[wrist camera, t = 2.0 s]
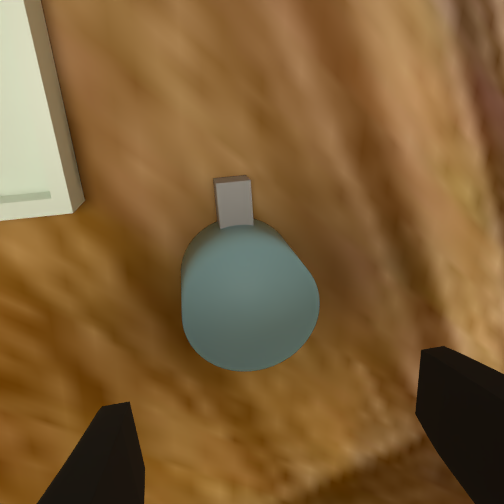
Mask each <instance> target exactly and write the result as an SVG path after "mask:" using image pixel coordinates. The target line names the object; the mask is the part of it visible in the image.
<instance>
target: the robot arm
mask: <svg viewBox="0 0 504 504" xmlns="http://www.w3.org/2000/svg"><path fill="white" fill-rule="evenodd" d="M415 414H416V416H417V418H418V420H419V421H420V423H421V425H422V427H423V429H424V430H425V432H426V434H427V436H428V437H429V439H430V441H431V443H432V444H433V446H434V448H435V449H436V451H437V453H438V454H439V455H440V457H441V458H442V460H443V461H444V462H445V464H446V465H447V466H448V468H449V469H450V471H451V472H452V473H453V475H454V476H455V477H456V479H457V480H458V481H459V483H460V484H461V486H462V487H463V488H464V490H465V491H466V492H467V494H468V495H469V496H470V498H471V499H472V500H473V502H474V503H475V504H504V374H502V373H500V372H498V371H496V370H494V369H492V368H490V367H488V366H486V365H484V364H482V363H480V362H478V361H476V360H474V359H471V358H469V357H467V356H465V355H463V354H461V353H459V352H456V351H454V350H452V349H449V348H447V347H445V346H441V347H435V348H430V349H424V350H421V359H420V369H419V380H418V391H417V402H416V412H415ZM144 489H145V466H144V462H143V457H142V453H141V449H140V444H139V440H138V436H137V432H136V427H135V423H134V419H133V414H132V410H131V406H130V402H125V403H119V404H113V405H108V406H102V407H101V408H100V410H99V411H98V412H97V414H96V415H95V417H94V419H93V420H92V422H91V423H90V425H89V427H88V428H87V430H86V431H85V433H84V435H83V436H82V438H81V439H80V441H79V442H78V444H77V445H76V447H75V448H74V450H73V452H72V453H71V455H70V456H69V458H68V459H67V461H66V462H65V464H64V465H63V467H62V468H61V469H60V471H59V472H58V474H57V475H56V477H55V478H54V480H53V481H52V483H51V484H50V486H49V487H48V488H47V490H46V491H45V493H44V494H43V496H42V497H41V498H40V500H39V501H38V503H37V504H144Z"/></svg>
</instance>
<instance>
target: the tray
mask: <svg viewBox="0 0 504 504" xmlns="http://www.w3.org/2000/svg"><path fill="white" fill-rule="evenodd" d="M84 201H85V199H84V194H83V190H82V185H81V181H80V176H79V172H78V167H77V163H76V158H75V154H74V149H73V145H72V140H71V135H70V131H69V126H68V122H67V117H66V113H65V108H64V104H63V99H62V95H61V90H60V86H59V81H58V76H57V72H56V67H55V63H54V58H53V54H52V49H51V45H50V40H49V36H48V31H47V27H46V22H45V17H44V13H43V8H42V4H41V0H0V221H2V220H12V219H21V218H31V217H41V216H50V215H60V214H70V213H74V212H75V211H76V210H77V208H78V207H79V206H80V205H81V204H82V203H83V202H84Z"/></svg>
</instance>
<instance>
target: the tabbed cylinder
mask: <svg viewBox="0 0 504 504" xmlns="http://www.w3.org/2000/svg"><path fill="white" fill-rule="evenodd" d="M213 181H214V191H215V201H216V211H217V222H215V223H213V224H211V225H209V226H208V227H206V228H204V229H203V230H202V231H201V232H199V233H198V234H197V235H196V236H195V237H194V239H193V240H192V241H191V243H190V244H189V246H188V247H187V249H186V251H185V254H184V257H183V260H182V265H181V297H182V323H183V328H184V332H185V334H186V337H187V339H188V341H189V342H190V344H191V346H192V347H193V348H194V350H195V351H196V352H197V353H198V354H199V355H200V356H201V357H203V358H204V359H205V360H207V361H208V362H210V363H212V364H214V365H216V366H218V367H221V368H224V369H228V370H233V371H256V370H261V369H265V368H268V367H271V366H274V365H276V364H278V363H281V362H282V361H284V360H286V359H287V358H289V357H290V356H292V355H293V354H294V353H296V352H297V351H298V350H299V349H300V348H301V347H302V346H303V344H304V343H305V342H306V341H307V339H308V338H309V336H310V335H311V333H312V331H313V329H314V327H315V325H316V322H317V319H318V314H319V305H320V301H319V293H318V288H317V285H316V283H315V280H314V278H313V277H312V275H311V273H310V272H309V271H308V269H307V268H306V267H305V266H304V264H303V263H302V262H301V261H300V259H299V258H298V257H297V255H296V254H295V253H294V252H293V250H292V249H291V248H290V247H289V245H288V244H287V243H286V241H285V240H284V239H283V238H282V236H281V235H280V234H279V233H278V232H277V231H276V230H275V229H274V228H272V227H271V226H269V225H268V224H266V223H264V222H262V221H259V220H256V219H253V209H252V194H251V180H250V179H249V178H248V177H247V176H246V175H243V176H232V177H222V178H213Z"/></svg>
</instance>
